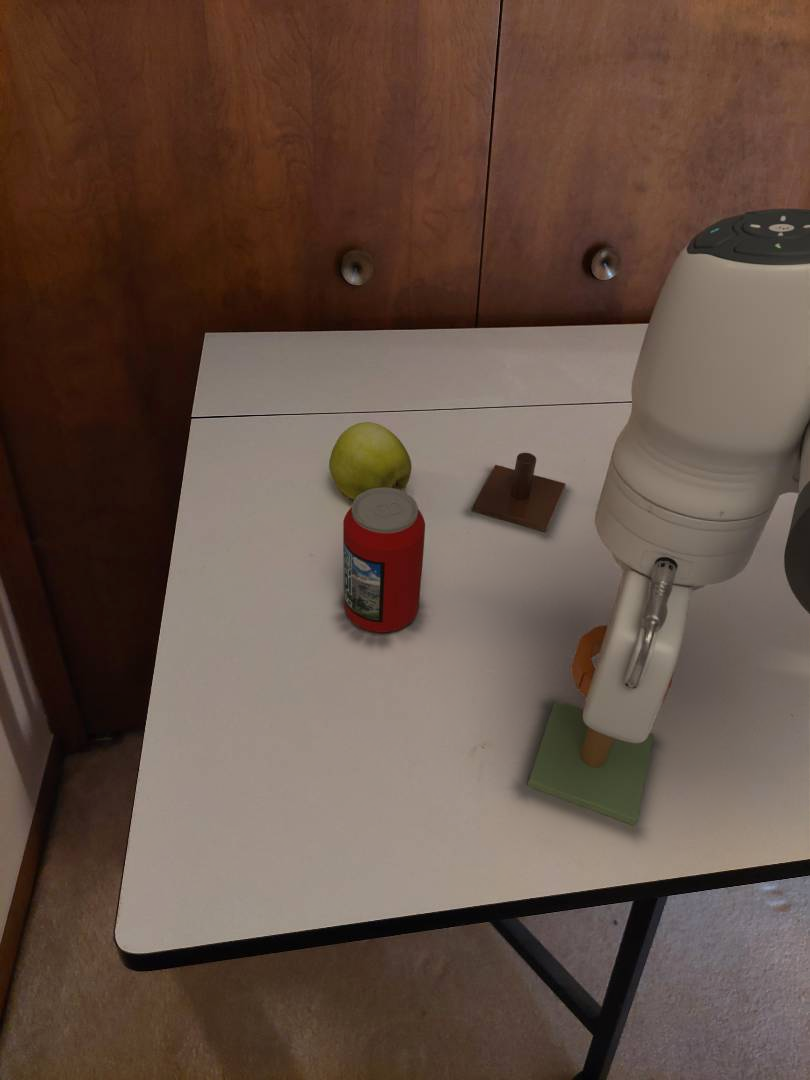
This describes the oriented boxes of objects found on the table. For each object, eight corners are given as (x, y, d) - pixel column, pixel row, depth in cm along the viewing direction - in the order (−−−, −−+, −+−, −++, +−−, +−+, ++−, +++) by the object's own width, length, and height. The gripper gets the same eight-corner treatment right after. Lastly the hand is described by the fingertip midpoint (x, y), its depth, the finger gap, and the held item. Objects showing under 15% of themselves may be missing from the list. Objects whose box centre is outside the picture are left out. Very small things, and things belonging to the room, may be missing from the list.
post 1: (564, 489, 87) (573, 447, 84) (546, 532, 82) (555, 490, 78) (494, 470, 89) (500, 428, 86) (471, 511, 84) (477, 468, 80)
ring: (672, 659, 56) (679, 642, 55) (658, 729, 52) (666, 712, 50) (582, 630, 58) (588, 613, 56) (562, 696, 53) (567, 679, 52)
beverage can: (334, 593, 74) (332, 490, 66) (403, 577, 76) (409, 475, 68) (357, 646, 69) (358, 542, 61) (429, 628, 71) (439, 525, 63)
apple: (363, 460, 89) (364, 399, 84) (424, 497, 85) (429, 434, 80) (311, 490, 85) (309, 426, 80) (372, 530, 81) (373, 466, 75)
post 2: (651, 739, 63) (670, 696, 60) (634, 826, 58) (653, 784, 54) (553, 706, 65) (565, 662, 62) (527, 786, 60) (538, 743, 56)
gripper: (719, 659, 37) (643, 815, 46) (749, 434, 51) (688, 587, 60) (584, 617, 38) (537, 776, 48) (651, 410, 53) (605, 562, 62)
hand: (622, 668), depth 54 cm, fingers closed on ring, 6 cm apart
